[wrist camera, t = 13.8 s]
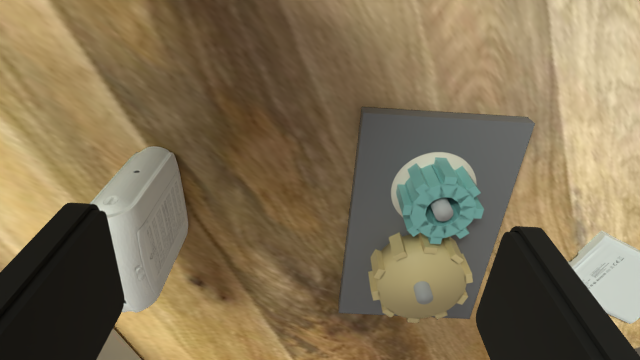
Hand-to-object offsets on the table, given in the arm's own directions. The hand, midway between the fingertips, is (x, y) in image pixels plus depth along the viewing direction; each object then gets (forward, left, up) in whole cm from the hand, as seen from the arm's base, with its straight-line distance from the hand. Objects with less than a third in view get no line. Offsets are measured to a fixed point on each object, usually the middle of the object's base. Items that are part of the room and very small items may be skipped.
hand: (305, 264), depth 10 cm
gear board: (+18, +12, -28) cm, 36 cm away
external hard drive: (+24, +35, -29) cm, 52 cm away
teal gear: (+13, +12, -27) cm, 32 cm away
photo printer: (+16, -14, -29) cm, 36 cm away
